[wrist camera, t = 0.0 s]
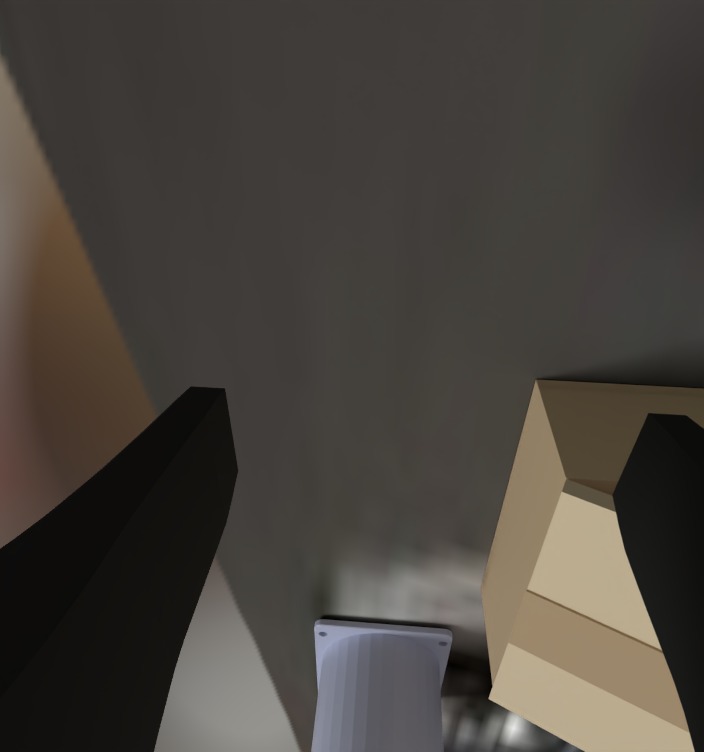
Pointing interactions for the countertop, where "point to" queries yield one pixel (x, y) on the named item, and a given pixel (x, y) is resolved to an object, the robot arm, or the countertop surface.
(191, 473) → the robot arm
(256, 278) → the countertop surface
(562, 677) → the cardboard lid
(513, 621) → the cardboard box
